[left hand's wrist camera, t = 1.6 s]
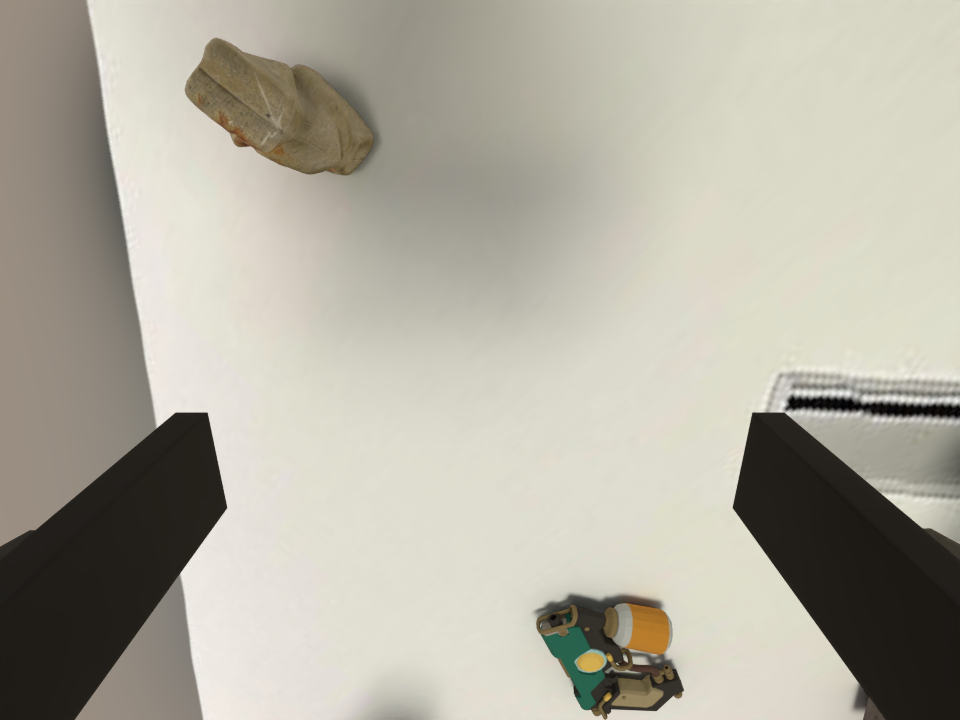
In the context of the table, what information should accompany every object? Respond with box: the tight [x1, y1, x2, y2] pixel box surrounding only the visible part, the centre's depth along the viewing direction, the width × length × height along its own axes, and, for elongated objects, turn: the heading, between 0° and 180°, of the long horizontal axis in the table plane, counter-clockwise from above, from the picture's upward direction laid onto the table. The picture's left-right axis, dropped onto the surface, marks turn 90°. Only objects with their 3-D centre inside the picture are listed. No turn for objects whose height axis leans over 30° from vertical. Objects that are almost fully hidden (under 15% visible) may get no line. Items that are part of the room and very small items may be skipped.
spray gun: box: [536, 603, 684, 720], centre depth 57 cm, size 4×17×15 cm
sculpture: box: [185, 38, 374, 175], centre depth 33 cm, size 6×7×15 cm
